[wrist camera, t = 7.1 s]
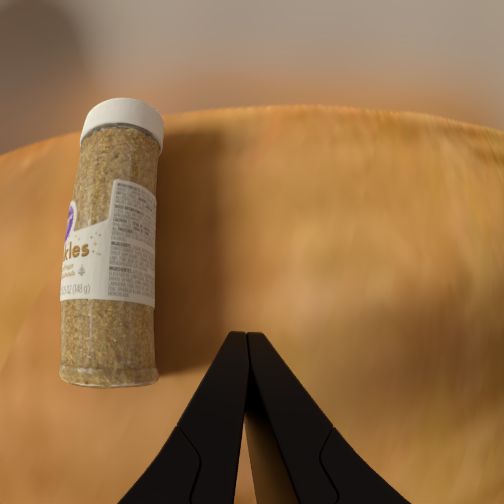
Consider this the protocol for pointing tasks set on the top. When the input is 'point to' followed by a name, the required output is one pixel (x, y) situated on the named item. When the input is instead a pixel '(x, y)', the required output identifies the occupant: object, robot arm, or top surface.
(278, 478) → the robot arm
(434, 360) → the top surface
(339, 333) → the top surface
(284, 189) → the top surface
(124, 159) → the sprinkles bottle
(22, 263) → the top surface
